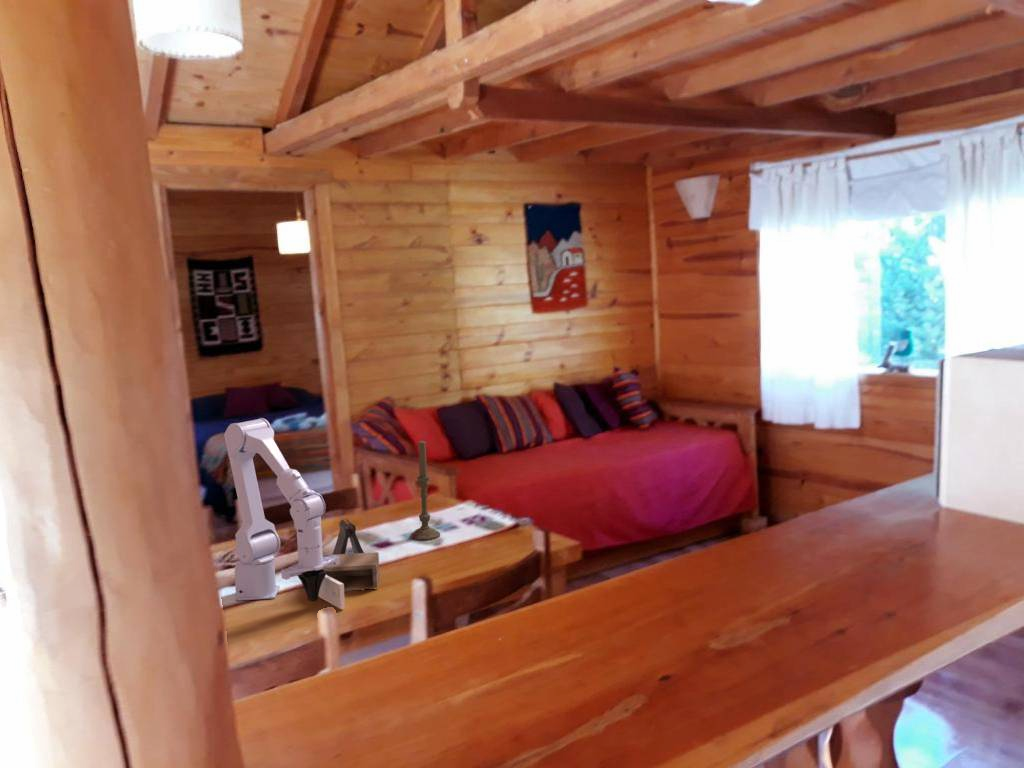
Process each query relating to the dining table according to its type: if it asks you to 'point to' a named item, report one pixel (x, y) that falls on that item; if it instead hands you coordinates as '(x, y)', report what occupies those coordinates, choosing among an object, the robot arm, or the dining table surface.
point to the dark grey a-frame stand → (343, 538)
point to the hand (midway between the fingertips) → (312, 600)
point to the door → (332, 592)
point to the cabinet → (356, 570)
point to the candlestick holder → (424, 500)
